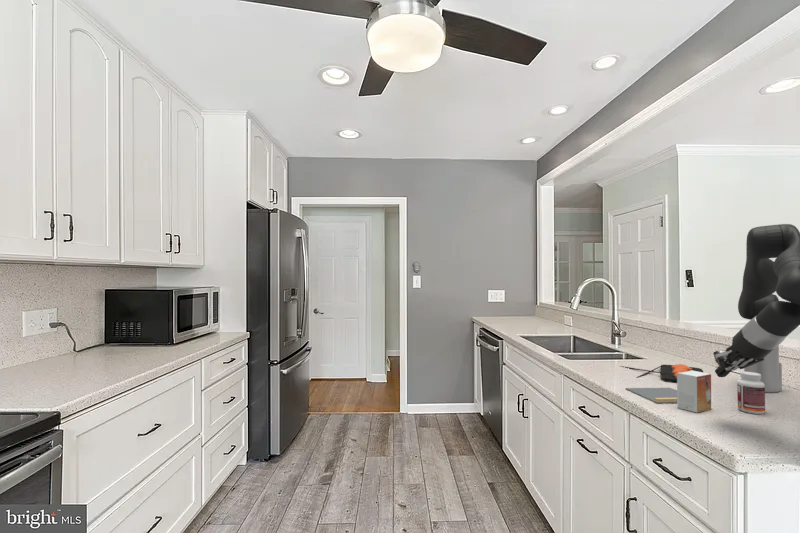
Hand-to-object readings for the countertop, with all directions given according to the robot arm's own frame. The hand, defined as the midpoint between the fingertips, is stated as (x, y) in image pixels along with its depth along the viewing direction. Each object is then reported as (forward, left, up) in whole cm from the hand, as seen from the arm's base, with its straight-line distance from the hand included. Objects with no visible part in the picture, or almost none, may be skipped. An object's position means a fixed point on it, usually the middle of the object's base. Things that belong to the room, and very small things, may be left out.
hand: (719, 374), depth 115 cm
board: (0, -22, -12) cm, 25 cm away
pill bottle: (-15, -6, -12) cm, 20 cm away
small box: (0, -9, -12) cm, 15 cm away
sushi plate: (-20, -52, -13) cm, 57 cm away
